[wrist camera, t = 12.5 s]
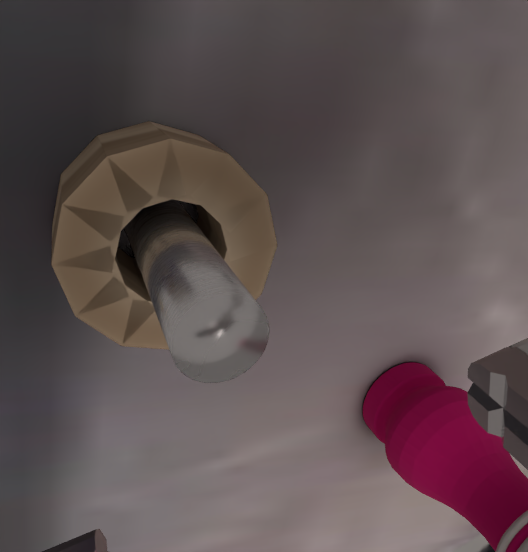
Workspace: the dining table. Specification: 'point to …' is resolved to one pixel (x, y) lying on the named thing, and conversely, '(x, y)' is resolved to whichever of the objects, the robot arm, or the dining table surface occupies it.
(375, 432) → the pepper mill
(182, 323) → the frosted glass rod
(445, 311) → the dining table surface
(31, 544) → the dining table surface
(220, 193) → the bead
